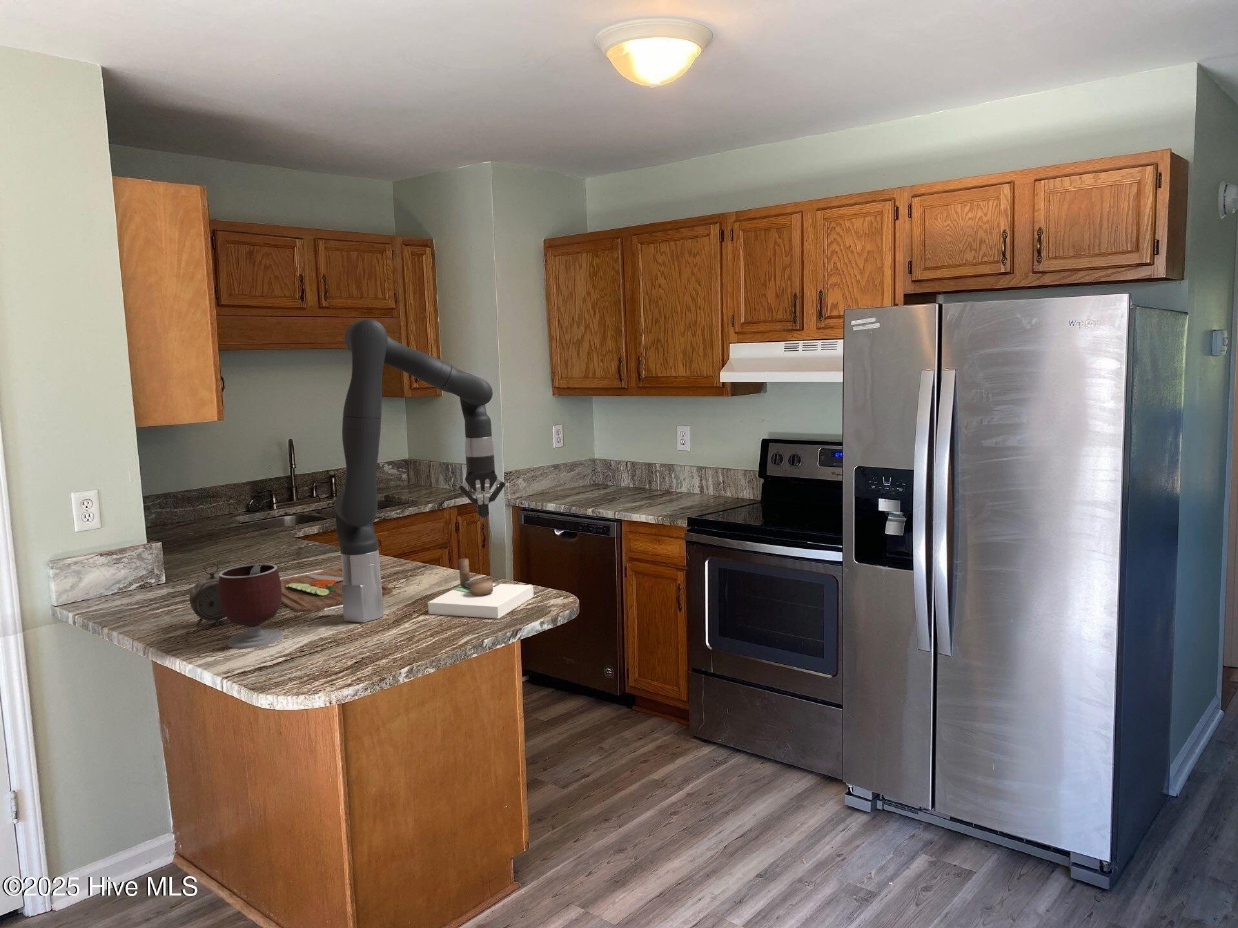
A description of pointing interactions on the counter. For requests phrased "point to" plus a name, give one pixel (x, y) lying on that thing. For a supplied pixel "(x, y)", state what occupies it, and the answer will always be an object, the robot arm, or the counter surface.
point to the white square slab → (481, 601)
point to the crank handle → (475, 586)
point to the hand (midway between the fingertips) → (483, 517)
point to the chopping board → (316, 590)
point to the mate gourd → (251, 602)
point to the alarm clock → (207, 599)
